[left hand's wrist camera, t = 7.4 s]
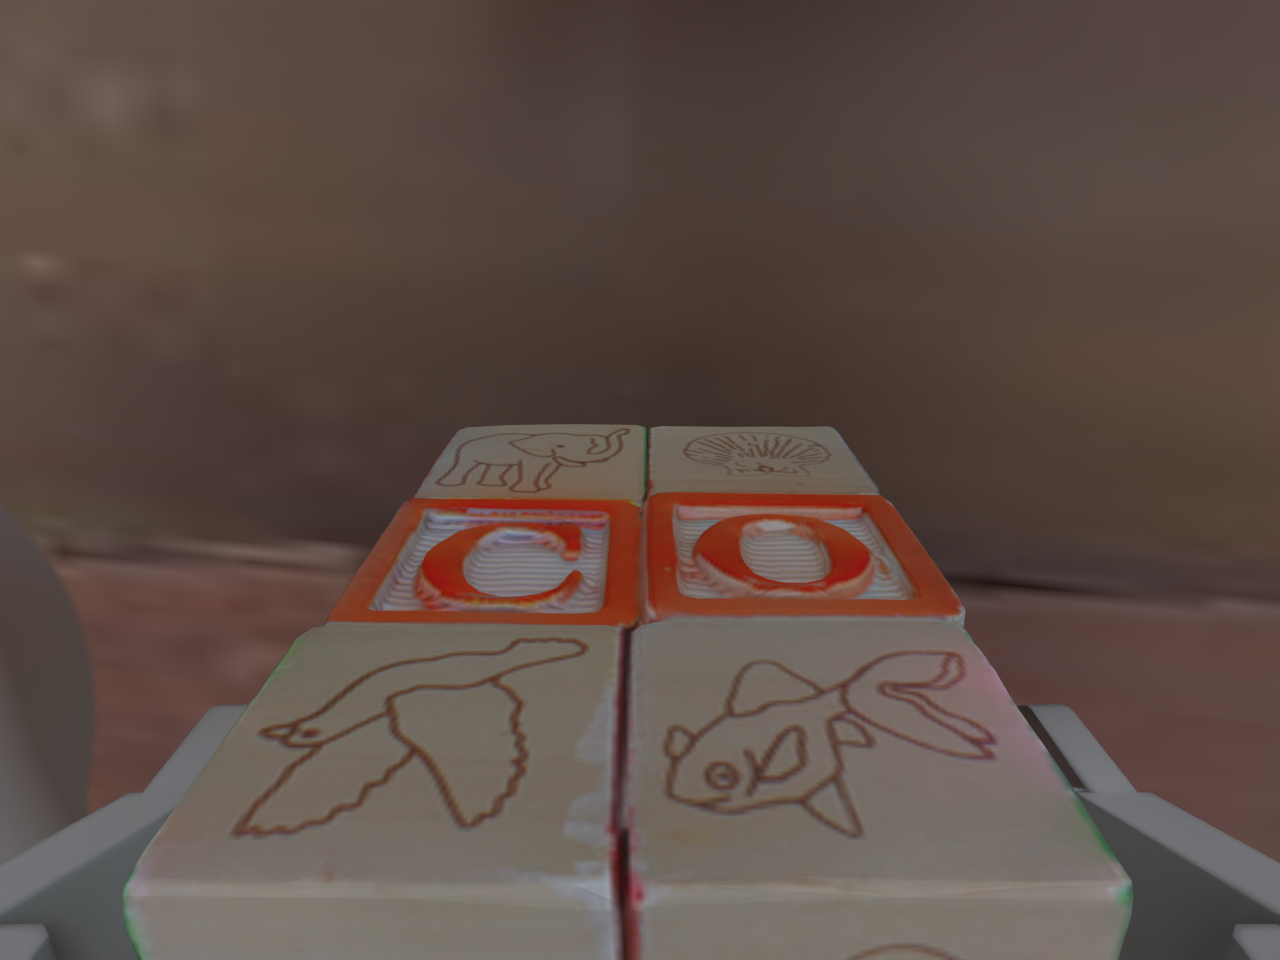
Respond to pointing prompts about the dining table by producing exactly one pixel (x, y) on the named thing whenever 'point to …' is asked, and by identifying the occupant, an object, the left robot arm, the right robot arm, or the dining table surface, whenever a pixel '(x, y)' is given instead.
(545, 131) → the dining table surface
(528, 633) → the stack of blocks
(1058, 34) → the dining table surface
